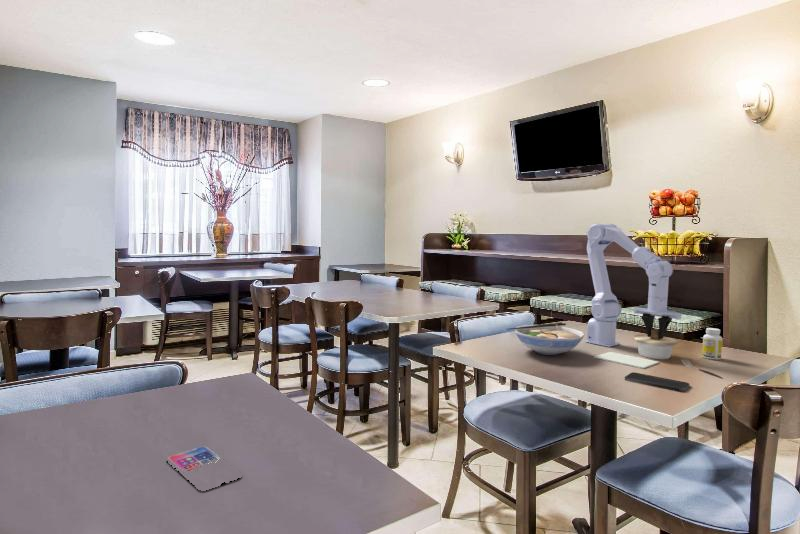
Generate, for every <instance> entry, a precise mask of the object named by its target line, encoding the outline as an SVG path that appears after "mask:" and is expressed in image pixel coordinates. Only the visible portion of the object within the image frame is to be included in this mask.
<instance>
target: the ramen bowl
mask: <svg viewBox="0 0 800 534" xmlns="http://www.w3.org/2000/svg"><path fill="white" fill-rule="evenodd" d="M566 325H567V323H564V322H562V321H561V322H552V323H551V322H550V323H543V324H525V325H519V326H516V327H511V328H506V330H514V331H515V334H516V336H517V338H518V339H519V341H520V342H521V343H522V344H523V345H524V347H526V348H528V349H531V350H532V351H534V352H536V353H538V354H540V355H544V356H556V355H557V356H558V355H560V354H562V353H566V352H569V351H571V350H573V349H575V348H576V347H577V346H578V345H579V344H580V343H581V341H582V340H583V338H584V337H585V333H584V332H583V331H581V330H578V329H576V328H570V327H566Z"/></svg>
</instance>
